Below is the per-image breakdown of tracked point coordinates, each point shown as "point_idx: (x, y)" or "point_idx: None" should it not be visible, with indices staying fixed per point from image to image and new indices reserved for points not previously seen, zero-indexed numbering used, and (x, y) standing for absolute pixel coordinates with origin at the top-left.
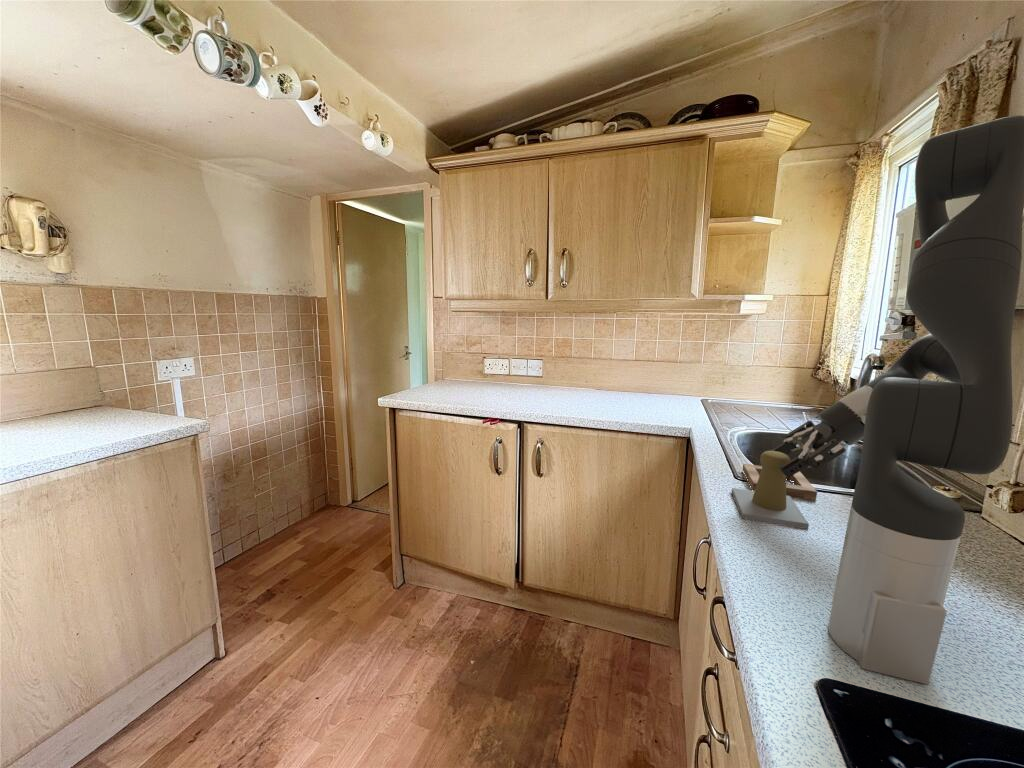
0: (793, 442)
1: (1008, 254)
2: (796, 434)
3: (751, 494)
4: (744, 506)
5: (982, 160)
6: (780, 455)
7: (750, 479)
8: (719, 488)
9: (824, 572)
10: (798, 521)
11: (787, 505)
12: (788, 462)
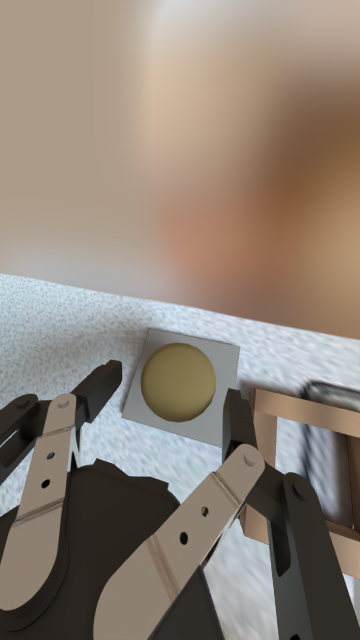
0: (249, 495)
1: None
2: (210, 501)
3: (218, 370)
4: (171, 339)
5: None
6: (155, 380)
7: (285, 395)
8: (249, 333)
9: (35, 372)
10: (128, 403)
11: None
12: (102, 375)
